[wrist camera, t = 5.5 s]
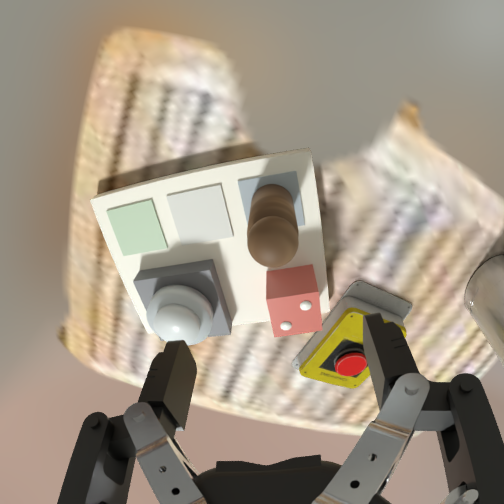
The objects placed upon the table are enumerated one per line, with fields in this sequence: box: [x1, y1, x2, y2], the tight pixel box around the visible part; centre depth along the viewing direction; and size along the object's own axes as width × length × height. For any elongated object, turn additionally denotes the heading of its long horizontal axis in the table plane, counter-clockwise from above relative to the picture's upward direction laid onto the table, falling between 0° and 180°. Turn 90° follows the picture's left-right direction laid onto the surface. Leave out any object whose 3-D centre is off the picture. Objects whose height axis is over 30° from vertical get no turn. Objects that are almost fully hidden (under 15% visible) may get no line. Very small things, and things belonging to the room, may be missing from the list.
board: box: [90, 148, 330, 341], centre depth 31 cm, size 21×17×4 cm
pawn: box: [247, 184, 299, 268], centre depth 24 cm, size 4×4×9 cm
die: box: [266, 264, 323, 337], centre depth 30 cm, size 4×4×5 cm
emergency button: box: [292, 281, 412, 389], centre depth 36 cm, size 9×4×15 cm
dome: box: [146, 285, 214, 345], centre depth 31 cm, size 6×6×4 cm
